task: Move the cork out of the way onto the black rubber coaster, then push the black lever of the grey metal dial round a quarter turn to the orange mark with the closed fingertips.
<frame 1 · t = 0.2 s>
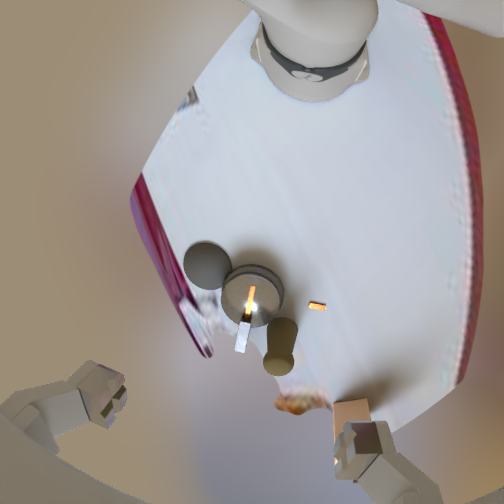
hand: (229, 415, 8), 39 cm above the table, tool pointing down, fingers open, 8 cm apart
dial: (247, 314, 49), point 4 cm above the table, hinge at 0.0°
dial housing: (253, 292, 51), on the table
coaster: (207, 266, 51), on the table
soap dispenser: (357, 408, 59), on the table
cork: (282, 329, 53), on the table
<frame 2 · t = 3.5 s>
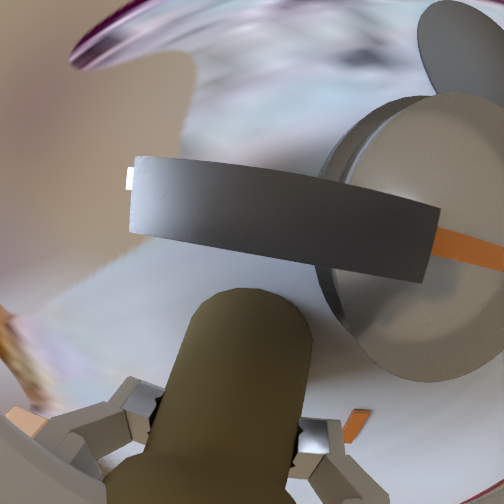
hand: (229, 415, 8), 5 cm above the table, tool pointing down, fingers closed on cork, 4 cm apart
dial: (417, 234, 7), point 4 cm above the table, hinge at 0.0°
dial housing: (430, 229, 10), on the table
coaster: (488, 73, 8), on the table
soap dispenser: (58, 446, 22), on the table
cork: (249, 343, 13), on the table, touching gripper
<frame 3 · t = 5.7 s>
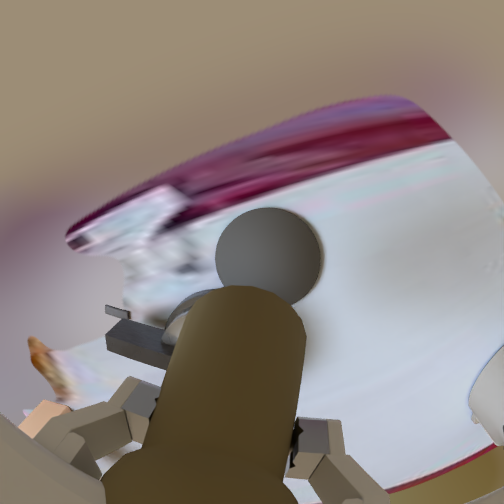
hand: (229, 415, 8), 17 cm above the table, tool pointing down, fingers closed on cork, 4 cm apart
dial: (186, 354, 24), point 4 cm above the table, hinge at 0.0°
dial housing: (221, 339, 27), on the table
coaster: (267, 260, 24), on the table
soap dispenser: (72, 425, 38), on the table
cork: (243, 340, 13), point 12 cm above the table, touching gripper
when the fingers open (6 cm above the table, at t = 8.2 s): cork drops 1 cm, resting on coaster.
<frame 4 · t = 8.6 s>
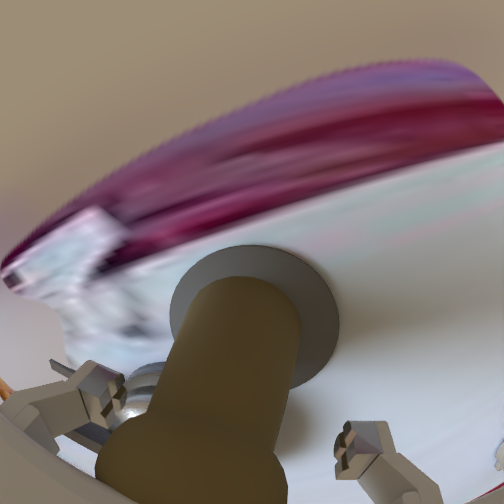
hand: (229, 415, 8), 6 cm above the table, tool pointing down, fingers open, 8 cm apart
dial: (142, 445, 14), point 4 cm above the table, hinge at 0.0°
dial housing: (193, 420, 17), on the table
coaster: (252, 328, 15), on the table
cork: (243, 328, 14), resting on coaster
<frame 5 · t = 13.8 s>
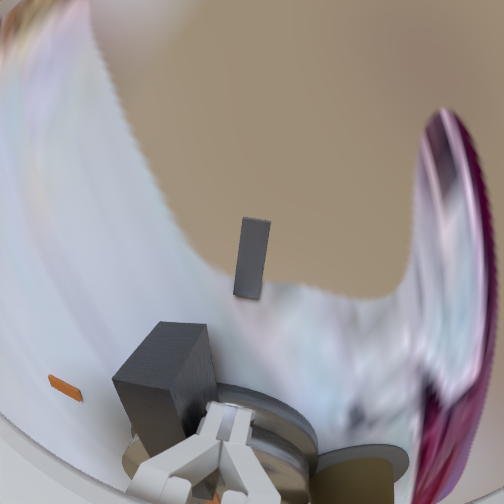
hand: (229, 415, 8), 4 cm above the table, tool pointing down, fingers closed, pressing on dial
dial: (204, 471, 10), point 4 cm above the table, hinge at 11.3°, touching gripper
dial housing: (225, 444, 14), on the table
coaster: (348, 477, 14), on the table
cork: (350, 476, 14), resting on coaster
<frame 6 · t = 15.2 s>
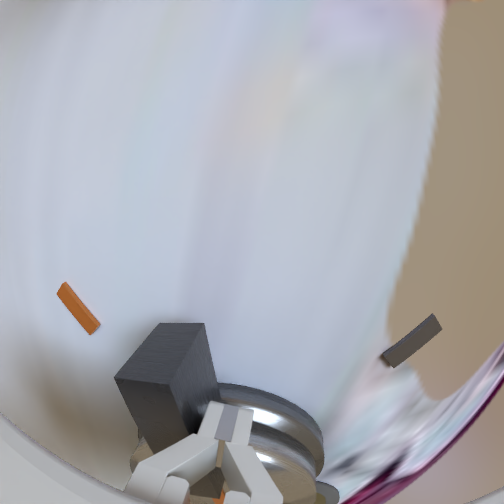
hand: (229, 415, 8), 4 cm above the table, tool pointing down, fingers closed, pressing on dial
dial: (210, 470, 10), point 4 cm above the table, hinge at 53.8°, touching gripper
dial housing: (231, 445, 14), on the table
coaster: (284, 500, 16), on the table
cork: (288, 501, 15), resting on coaster
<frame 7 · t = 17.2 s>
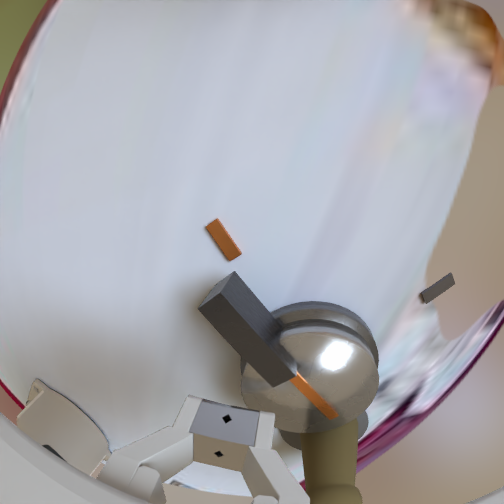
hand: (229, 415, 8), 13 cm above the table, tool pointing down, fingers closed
dial: (290, 369, 18), point 4 cm above the table, hinge at 94.8°
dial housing: (310, 360, 22), on the table
coaster: (324, 427, 24), on the table
cork: (328, 427, 23), resting on coaster
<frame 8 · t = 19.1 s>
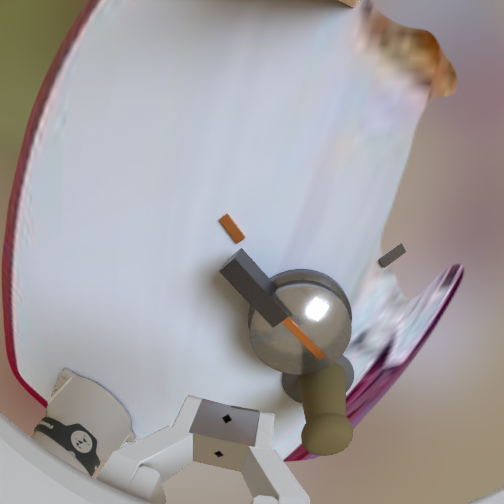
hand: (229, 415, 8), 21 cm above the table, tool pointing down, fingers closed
dial: (284, 316, 26), point 4 cm above the table, hinge at 94.9°
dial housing: (300, 316, 30), on the table
coaster: (318, 378, 32), on the table
cork: (321, 378, 32), resting on coaster
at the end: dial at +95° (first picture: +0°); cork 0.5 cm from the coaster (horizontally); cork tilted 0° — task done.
